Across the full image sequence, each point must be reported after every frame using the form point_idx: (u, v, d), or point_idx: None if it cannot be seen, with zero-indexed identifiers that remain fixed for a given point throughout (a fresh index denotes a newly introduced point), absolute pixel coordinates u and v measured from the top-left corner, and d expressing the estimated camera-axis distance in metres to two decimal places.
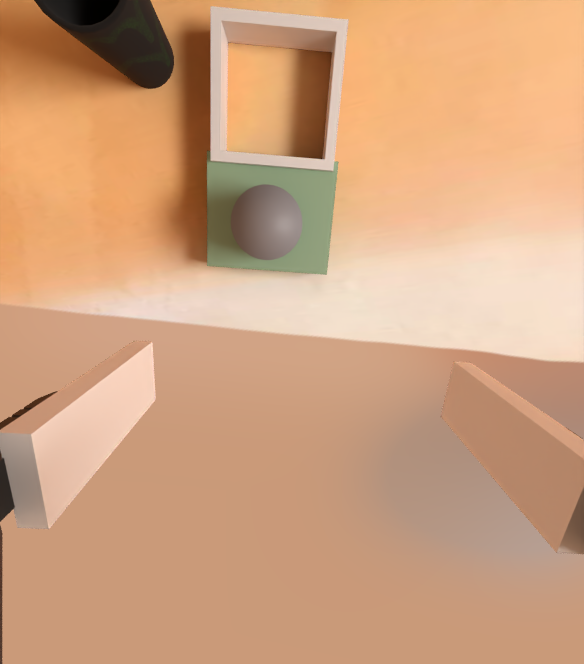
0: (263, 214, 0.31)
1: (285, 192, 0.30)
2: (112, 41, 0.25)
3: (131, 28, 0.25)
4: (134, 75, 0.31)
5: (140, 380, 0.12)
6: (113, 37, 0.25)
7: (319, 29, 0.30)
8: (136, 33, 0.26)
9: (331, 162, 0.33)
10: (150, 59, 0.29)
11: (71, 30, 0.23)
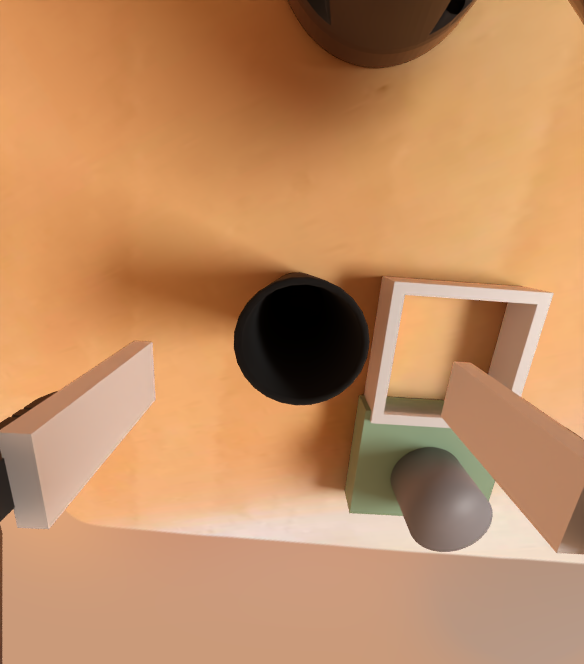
0: (448, 512, 0.26)
1: (477, 493, 0.26)
2: None
3: None
4: None
5: (140, 380, 0.12)
6: None
7: (518, 302, 0.26)
8: None
9: None
10: None
11: None
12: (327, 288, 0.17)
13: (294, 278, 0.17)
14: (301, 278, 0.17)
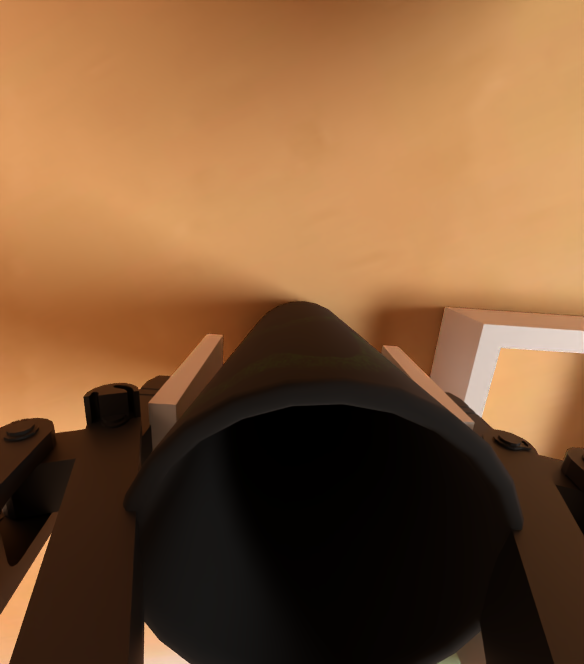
0: None
1: None
2: None
3: None
4: None
5: (217, 368, 0.14)
6: None
7: None
8: None
9: None
10: None
11: None
12: (410, 417, 0.05)
13: (300, 387, 0.05)
14: (324, 387, 0.05)
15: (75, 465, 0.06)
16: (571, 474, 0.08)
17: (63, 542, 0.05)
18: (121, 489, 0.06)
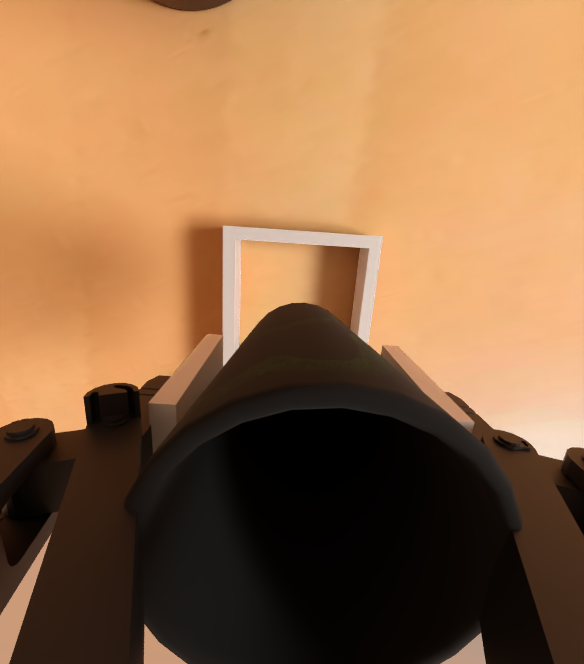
0: None
1: None
2: None
3: None
4: None
5: (217, 368, 0.14)
6: None
7: (349, 246, 0.26)
8: None
9: None
10: None
11: None
12: (409, 421, 0.05)
13: (299, 390, 0.05)
14: (323, 391, 0.05)
15: (75, 465, 0.06)
16: (571, 474, 0.08)
17: (63, 542, 0.05)
18: (122, 489, 0.06)
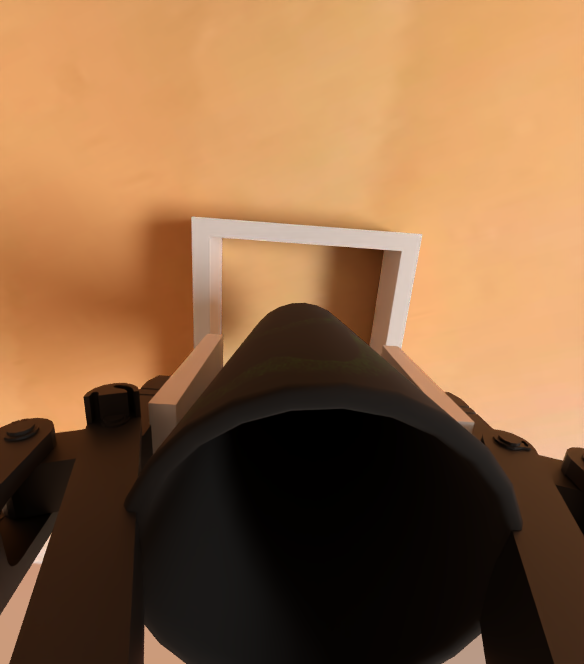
0: None
1: None
2: None
3: None
4: None
5: (217, 368, 0.14)
6: None
7: (373, 248, 0.18)
8: None
9: None
10: None
11: None
12: (409, 421, 0.05)
13: (299, 391, 0.05)
14: (323, 391, 0.05)
15: (75, 465, 0.06)
16: (571, 474, 0.08)
17: (63, 542, 0.05)
18: (122, 489, 0.06)
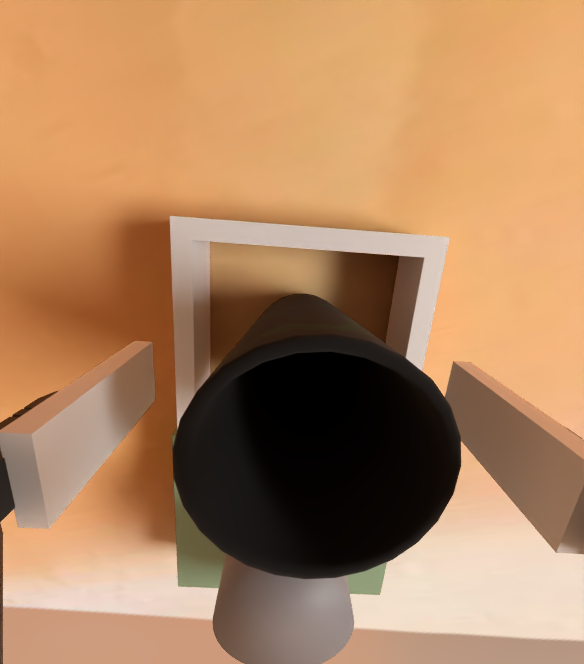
0: (278, 614, 0.15)
1: (322, 583, 0.15)
2: None
3: None
4: None
5: (140, 380, 0.12)
6: None
7: (390, 254, 0.15)
8: None
9: None
10: None
11: None
12: (377, 360, 0.07)
13: (302, 339, 0.07)
14: (318, 339, 0.07)
15: None
16: None
17: None
18: None
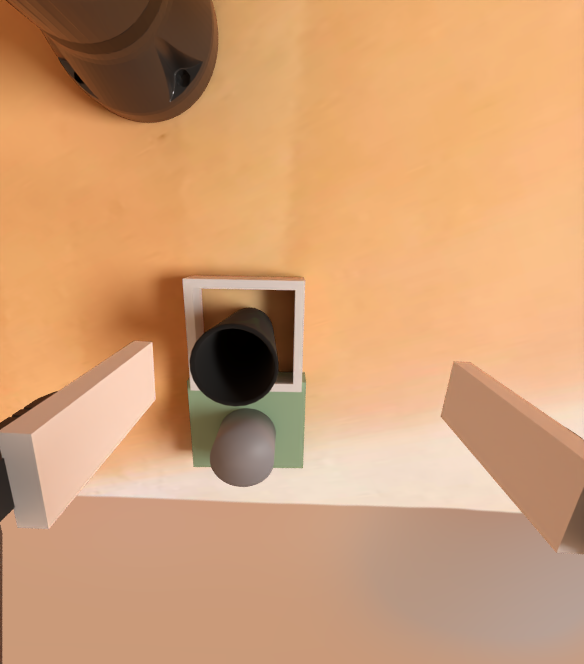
0: (238, 453, 0.34)
1: (256, 436, 0.34)
2: None
3: None
4: None
5: (140, 380, 0.12)
6: None
7: (279, 289, 0.34)
8: None
9: (299, 385, 0.37)
10: None
11: None
12: (246, 330, 0.26)
13: (224, 325, 0.26)
14: (228, 324, 0.26)
15: None
16: None
17: None
18: None
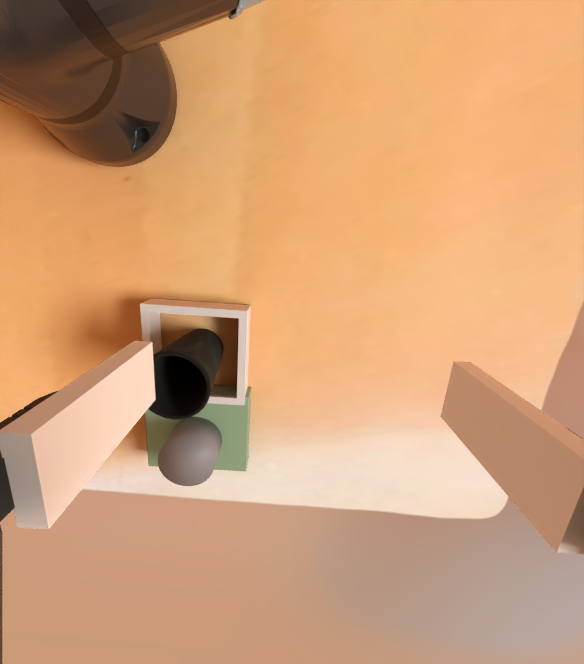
0: (183, 457, 0.39)
1: (198, 443, 0.39)
2: None
3: None
4: None
5: (140, 380, 0.12)
6: None
7: None
8: None
9: (242, 400, 0.42)
10: None
11: None
12: (182, 357, 0.31)
13: (164, 352, 0.31)
14: (168, 352, 0.31)
15: None
16: None
17: None
18: None
